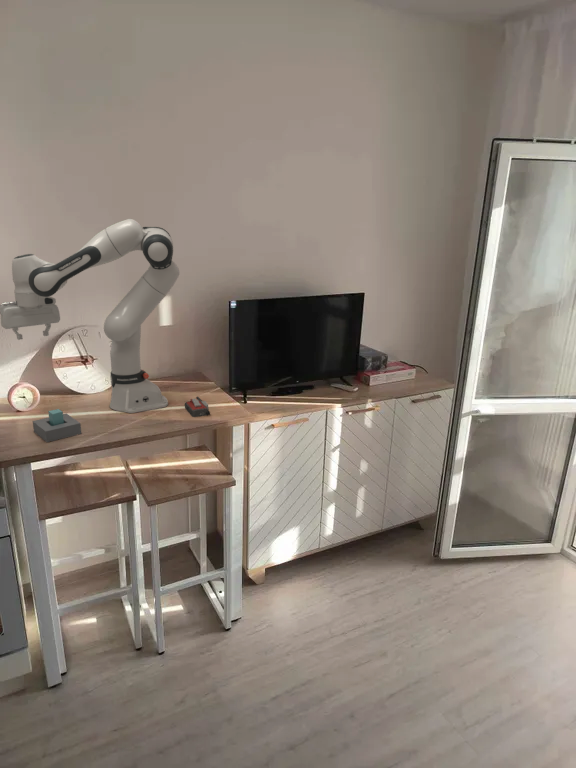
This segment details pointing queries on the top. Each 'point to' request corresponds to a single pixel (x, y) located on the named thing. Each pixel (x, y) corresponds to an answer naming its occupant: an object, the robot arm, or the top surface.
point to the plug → (56, 417)
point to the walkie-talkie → (197, 407)
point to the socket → (56, 428)
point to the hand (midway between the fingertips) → (33, 337)
